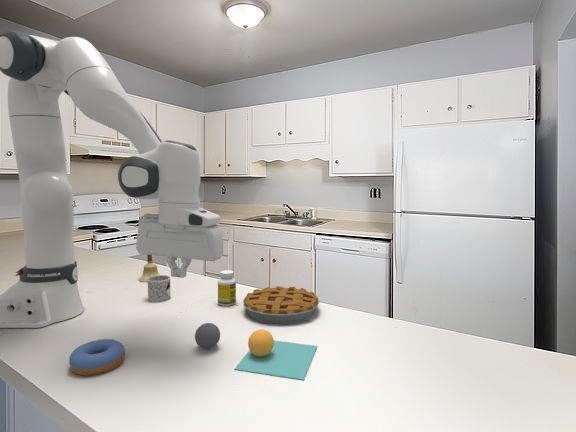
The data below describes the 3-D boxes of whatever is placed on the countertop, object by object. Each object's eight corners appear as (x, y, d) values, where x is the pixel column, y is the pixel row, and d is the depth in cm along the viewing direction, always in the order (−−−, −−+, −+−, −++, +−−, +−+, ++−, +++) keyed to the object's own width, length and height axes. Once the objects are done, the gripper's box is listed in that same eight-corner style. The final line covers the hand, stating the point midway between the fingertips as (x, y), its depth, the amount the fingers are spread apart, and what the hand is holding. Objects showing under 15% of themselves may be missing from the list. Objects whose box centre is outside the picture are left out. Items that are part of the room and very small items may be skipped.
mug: (172, 300, 110) (171, 279, 109) (149, 303, 107) (148, 282, 106) (167, 291, 119) (167, 272, 118) (146, 294, 116) (145, 274, 115)
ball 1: (201, 329, 75) (208, 354, 75) (221, 319, 79) (227, 342, 79) (187, 328, 78) (193, 352, 79) (207, 318, 83) (213, 341, 83)
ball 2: (252, 336, 72) (267, 360, 72) (269, 321, 76) (283, 344, 76) (238, 341, 75) (252, 364, 75) (255, 327, 80) (268, 348, 79)
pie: (248, 298, 113) (248, 282, 113) (317, 299, 113) (317, 284, 112) (236, 326, 92) (236, 307, 91) (321, 327, 91) (321, 308, 90)
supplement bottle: (232, 307, 104) (232, 274, 104) (215, 305, 106) (214, 273, 105) (238, 301, 110) (238, 270, 109) (222, 299, 111) (221, 269, 110)
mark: (234, 369, 70) (234, 368, 70) (258, 339, 83) (258, 338, 83) (303, 380, 66) (303, 379, 66) (317, 346, 80) (317, 345, 80)
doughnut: (58, 366, 70) (59, 344, 70) (108, 349, 79) (109, 330, 78) (84, 387, 65) (85, 364, 64) (134, 367, 73) (135, 346, 73)
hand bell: (157, 282, 129) (156, 239, 127) (134, 282, 129) (133, 239, 128) (165, 276, 137) (164, 235, 136) (144, 276, 137) (142, 235, 136)
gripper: (129, 213, 78) (129, 275, 79) (213, 219, 73) (212, 285, 74) (148, 212, 84) (147, 269, 85) (227, 216, 79) (225, 277, 80)
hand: (178, 276), depth 80 cm, fingers closed
